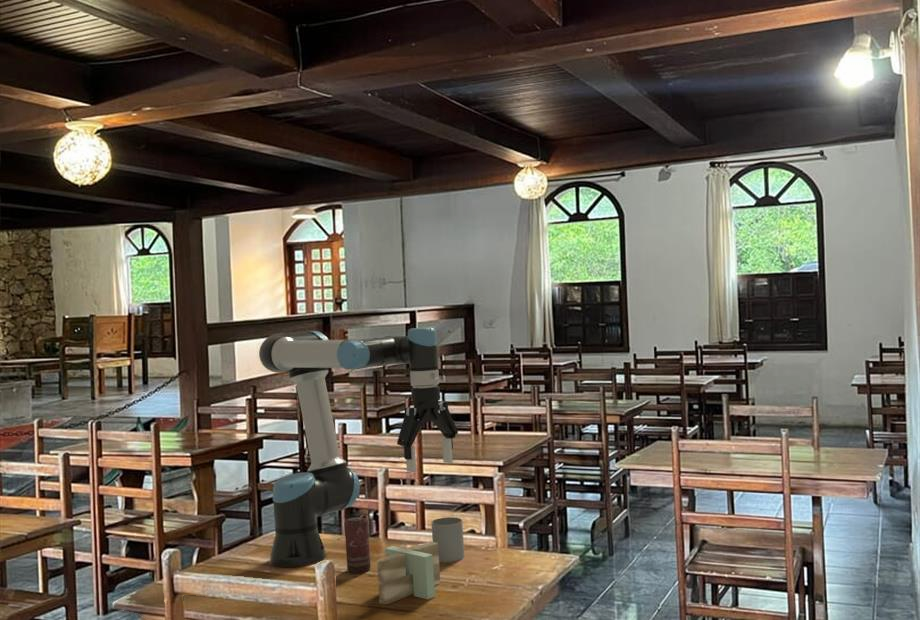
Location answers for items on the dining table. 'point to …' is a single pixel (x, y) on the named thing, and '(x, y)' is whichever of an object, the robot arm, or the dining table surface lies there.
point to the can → (357, 544)
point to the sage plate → (418, 570)
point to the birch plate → (402, 574)
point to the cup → (448, 538)
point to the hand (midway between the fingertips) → (430, 467)
